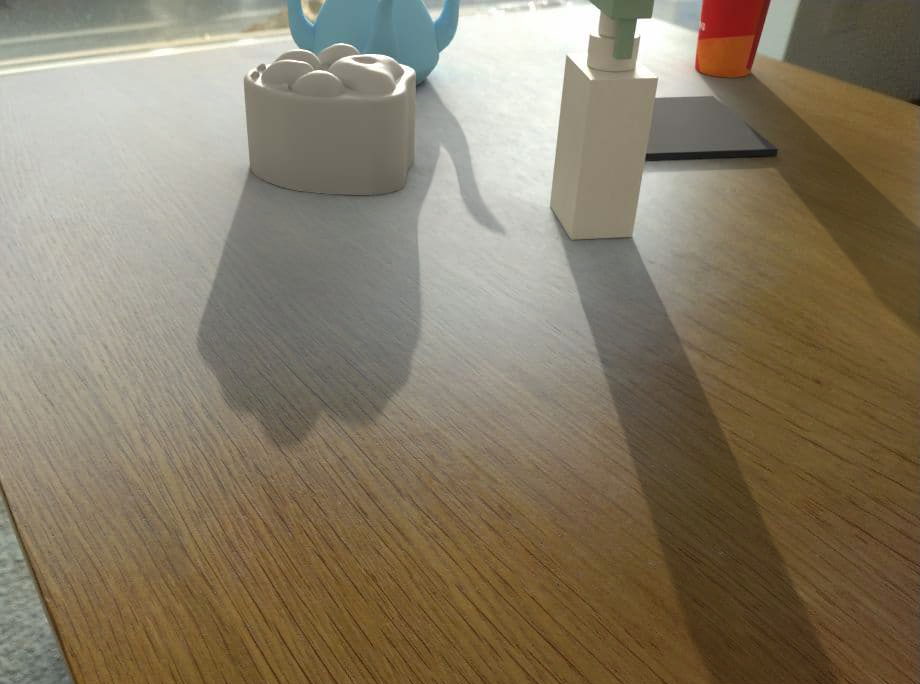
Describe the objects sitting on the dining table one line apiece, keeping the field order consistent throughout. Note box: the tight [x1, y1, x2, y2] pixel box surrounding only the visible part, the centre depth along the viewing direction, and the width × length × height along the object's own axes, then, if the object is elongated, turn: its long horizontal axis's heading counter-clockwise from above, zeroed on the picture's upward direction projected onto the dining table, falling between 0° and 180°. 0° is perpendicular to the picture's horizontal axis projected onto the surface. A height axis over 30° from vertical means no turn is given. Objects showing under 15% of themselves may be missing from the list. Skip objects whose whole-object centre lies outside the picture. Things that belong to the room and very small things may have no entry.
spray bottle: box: [549, 0, 659, 241], centre depth 65 cm, size 4×6×17 cm
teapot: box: [286, 0, 461, 86], centre depth 96 cm, size 15×15×10 cm
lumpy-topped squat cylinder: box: [243, 44, 417, 196], centre depth 76 cm, size 10×13×9 cm
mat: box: [645, 95, 779, 161], centre depth 86 cm, size 14×14×1 cm
